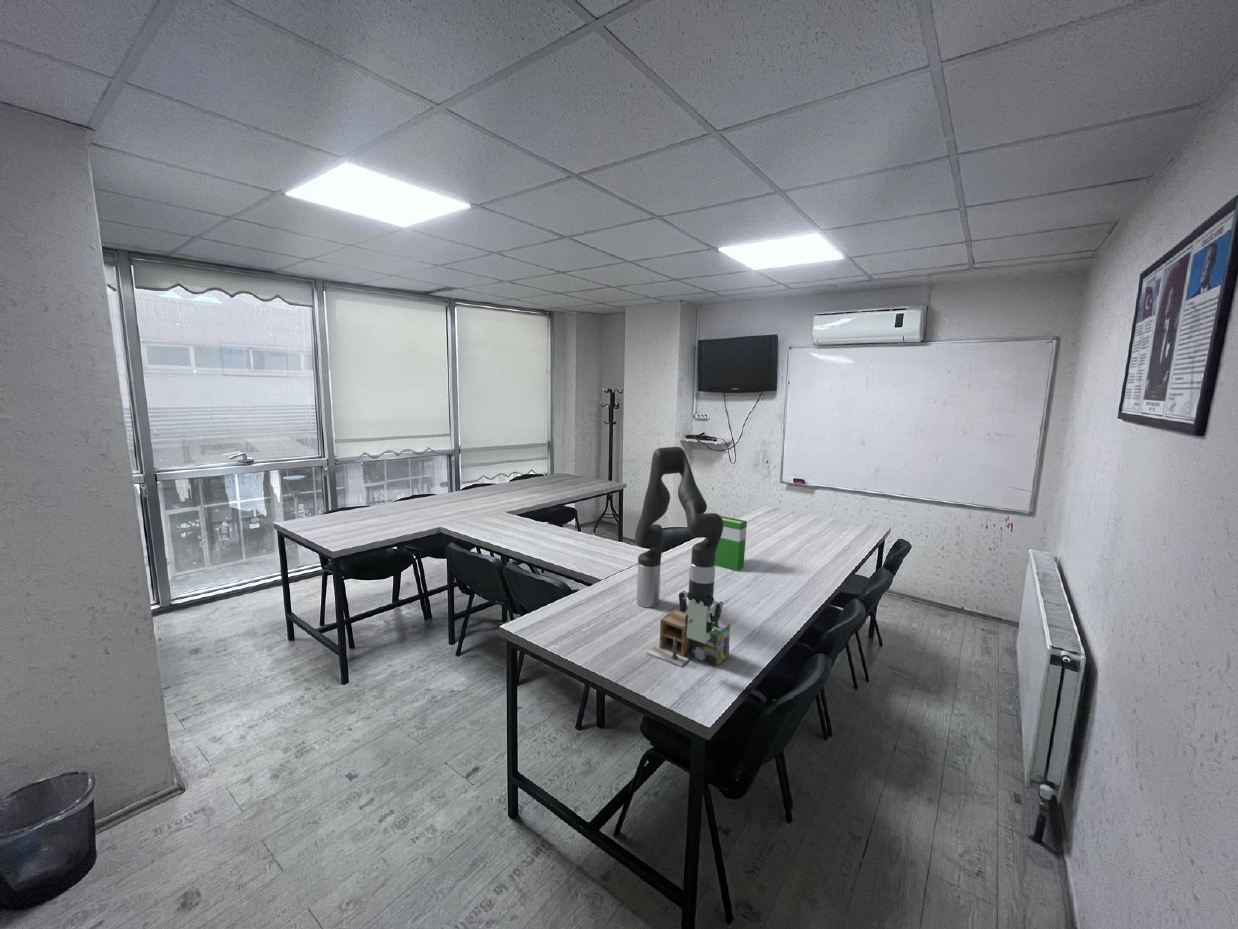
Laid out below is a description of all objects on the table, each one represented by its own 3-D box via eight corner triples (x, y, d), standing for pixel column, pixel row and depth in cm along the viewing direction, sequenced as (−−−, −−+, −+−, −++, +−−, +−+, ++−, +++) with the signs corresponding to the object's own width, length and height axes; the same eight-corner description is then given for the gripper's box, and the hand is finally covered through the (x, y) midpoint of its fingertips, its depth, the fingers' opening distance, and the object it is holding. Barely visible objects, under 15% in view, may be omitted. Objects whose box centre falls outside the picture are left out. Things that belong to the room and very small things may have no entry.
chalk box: (729, 656, 165) (732, 614, 163) (715, 667, 158) (718, 624, 156) (705, 646, 171) (707, 606, 169) (691, 657, 164) (693, 615, 162)
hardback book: (705, 562, 253) (707, 517, 249) (711, 559, 258) (714, 514, 255) (737, 571, 242) (740, 524, 238) (743, 567, 248) (746, 521, 244)
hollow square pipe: (691, 632, 157) (694, 597, 154) (709, 638, 153) (711, 602, 151) (685, 638, 153) (687, 602, 151) (703, 644, 150) (705, 607, 148)
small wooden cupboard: (668, 636, 177) (669, 607, 176) (701, 647, 170) (703, 617, 168) (646, 654, 165) (648, 623, 163) (681, 667, 158) (683, 635, 156)
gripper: (729, 579, 149) (725, 631, 152) (686, 568, 157) (683, 617, 160) (719, 587, 143) (715, 641, 146) (675, 575, 151) (672, 626, 154)
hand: (698, 628), depth 153 cm, fingers closed on hollow square pipe, 6 cm apart
